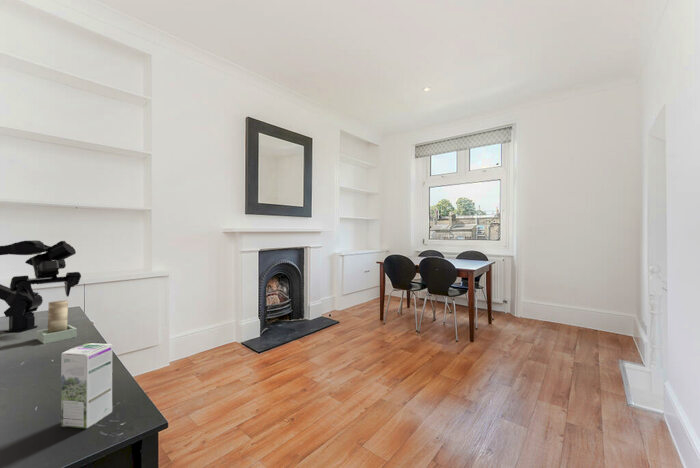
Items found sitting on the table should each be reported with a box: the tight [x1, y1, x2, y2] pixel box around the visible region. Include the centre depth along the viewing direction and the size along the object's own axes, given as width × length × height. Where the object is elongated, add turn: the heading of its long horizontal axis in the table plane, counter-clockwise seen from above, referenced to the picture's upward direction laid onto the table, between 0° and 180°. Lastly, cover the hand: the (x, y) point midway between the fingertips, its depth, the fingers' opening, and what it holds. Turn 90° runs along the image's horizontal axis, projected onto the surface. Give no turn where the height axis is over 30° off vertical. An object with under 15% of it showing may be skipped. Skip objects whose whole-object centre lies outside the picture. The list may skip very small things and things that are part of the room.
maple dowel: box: [47, 300, 69, 334], centre depth 107 cm, size 5×5×13 cm
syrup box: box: [60, 342, 113, 429], centre depth 59 cm, size 6×6×14 cm
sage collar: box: [36, 324, 78, 345], centre depth 106 cm, size 9×9×3 cm
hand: (51, 297), depth 111 cm, fingers open, 9 cm apart
